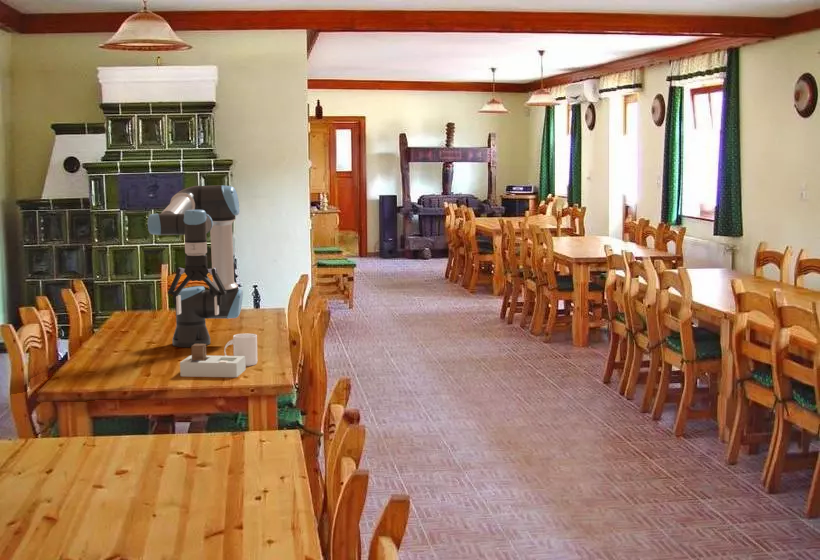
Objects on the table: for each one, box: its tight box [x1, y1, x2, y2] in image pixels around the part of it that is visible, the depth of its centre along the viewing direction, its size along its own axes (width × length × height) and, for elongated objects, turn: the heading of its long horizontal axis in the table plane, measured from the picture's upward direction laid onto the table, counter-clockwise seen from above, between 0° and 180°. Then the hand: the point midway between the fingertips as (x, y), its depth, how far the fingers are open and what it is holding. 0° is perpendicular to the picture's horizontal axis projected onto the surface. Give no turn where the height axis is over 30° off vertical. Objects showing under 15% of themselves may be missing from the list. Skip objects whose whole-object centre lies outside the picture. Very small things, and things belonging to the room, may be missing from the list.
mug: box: [223, 332, 258, 367], centre depth 351 cm, size 9×12×11 cm
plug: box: [191, 344, 207, 361], centre depth 337 cm, size 4×4×9 cm
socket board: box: [179, 354, 247, 378], centre depth 337 cm, size 12×20×5 cm, turn 85°
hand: (198, 314), depth 335 cm, fingers open, 13 cm apart
